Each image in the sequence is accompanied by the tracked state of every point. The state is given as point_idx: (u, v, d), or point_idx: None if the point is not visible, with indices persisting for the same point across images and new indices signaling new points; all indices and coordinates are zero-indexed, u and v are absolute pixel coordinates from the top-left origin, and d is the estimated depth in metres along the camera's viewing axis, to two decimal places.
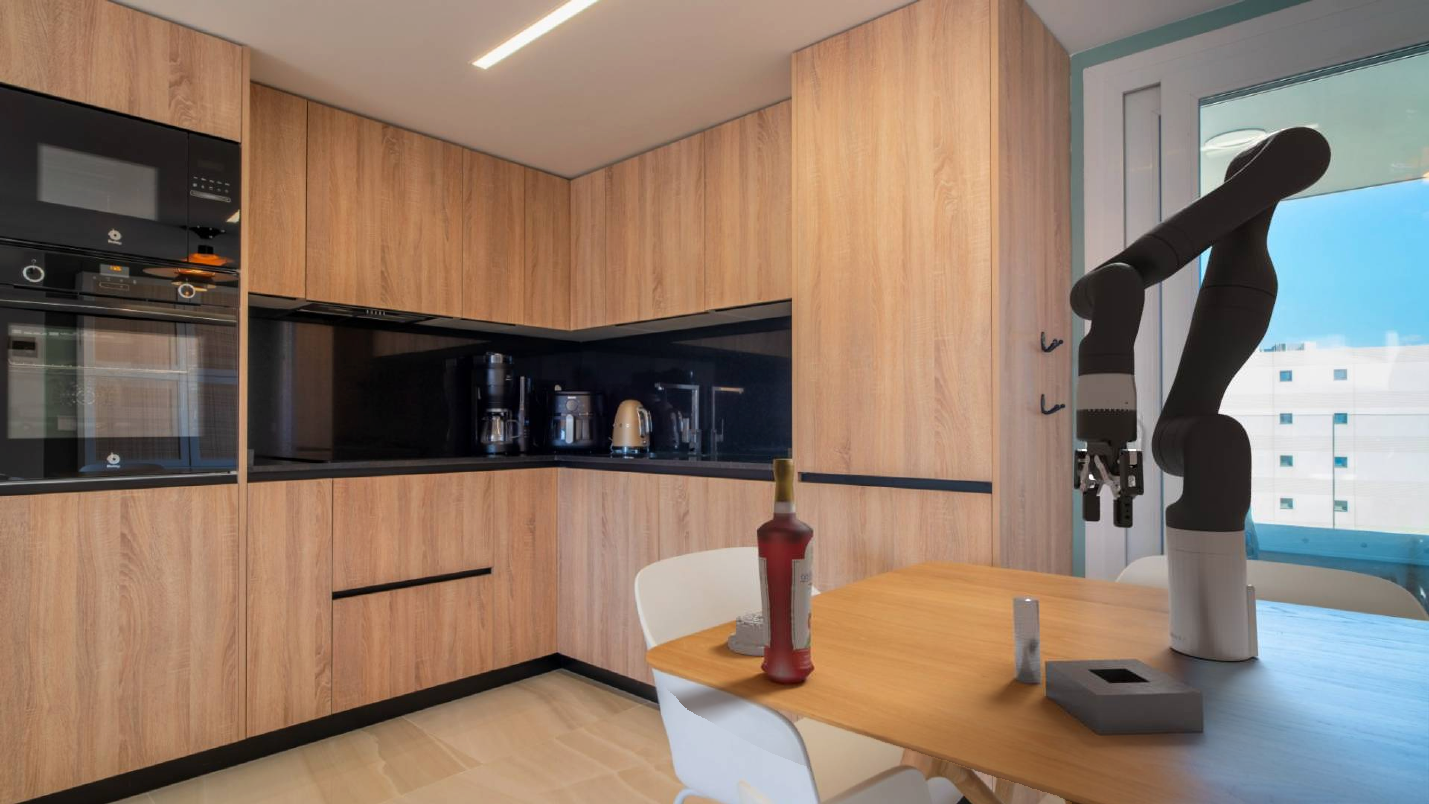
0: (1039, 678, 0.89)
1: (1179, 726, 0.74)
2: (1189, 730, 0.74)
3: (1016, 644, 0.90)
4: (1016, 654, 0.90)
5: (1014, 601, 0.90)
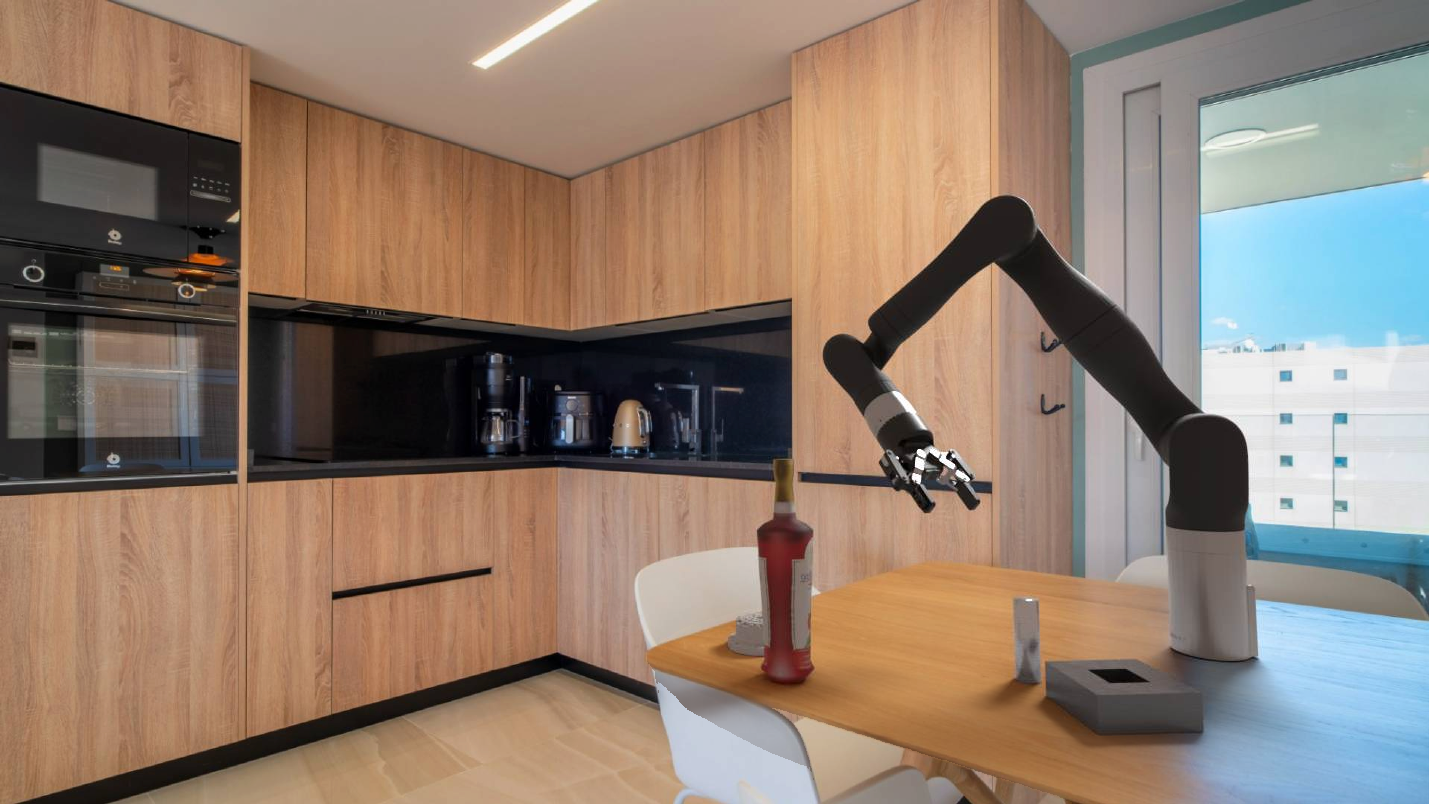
0: (1039, 678, 0.89)
1: (1179, 726, 0.74)
2: (1189, 730, 0.74)
3: (1016, 644, 0.90)
4: (1016, 654, 0.90)
5: (1014, 601, 0.90)
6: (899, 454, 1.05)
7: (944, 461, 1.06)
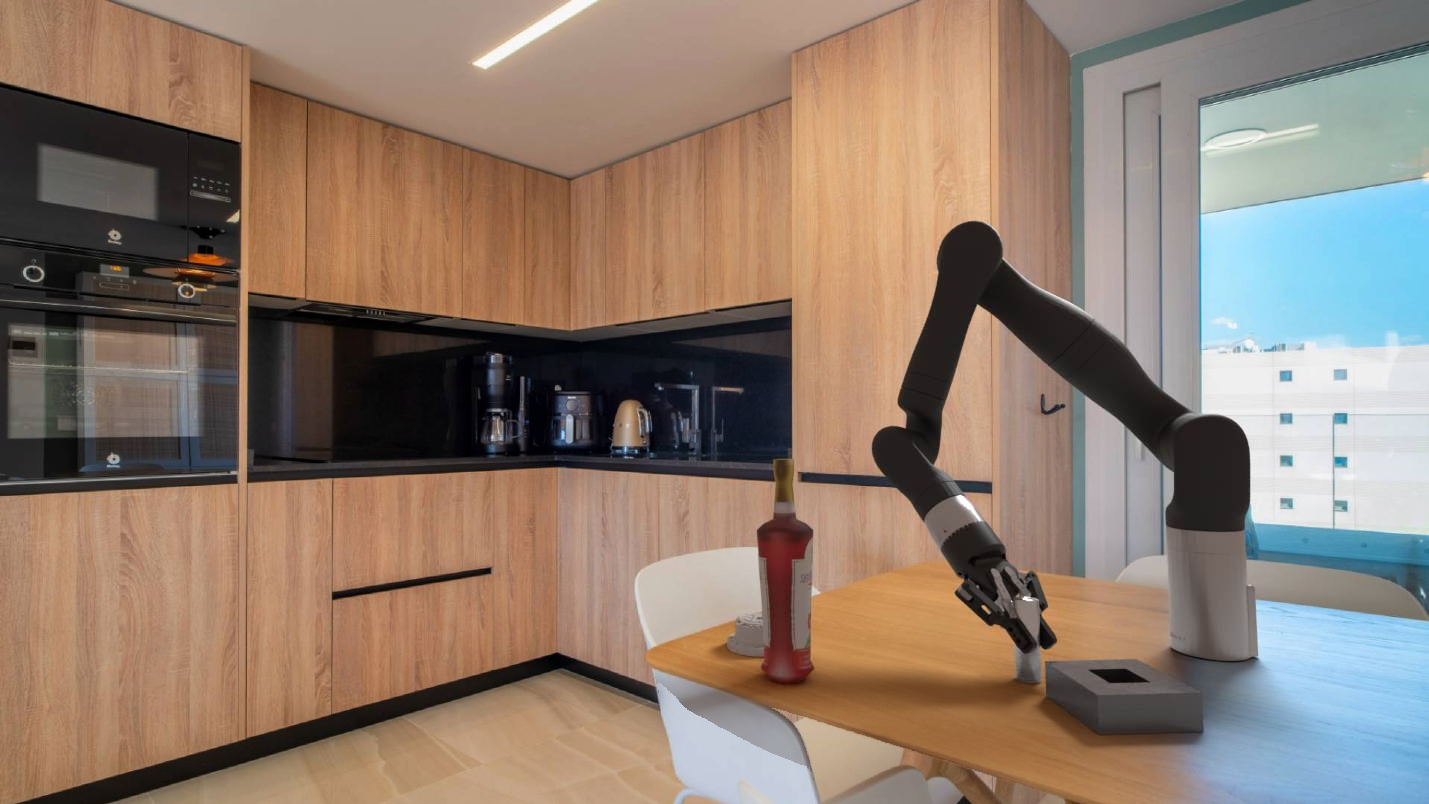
0: (1039, 678, 0.89)
1: (1179, 726, 0.74)
2: (1189, 730, 0.74)
3: None
4: (1016, 654, 0.90)
5: (1014, 601, 0.90)
6: (972, 577, 0.93)
7: (1017, 583, 0.93)
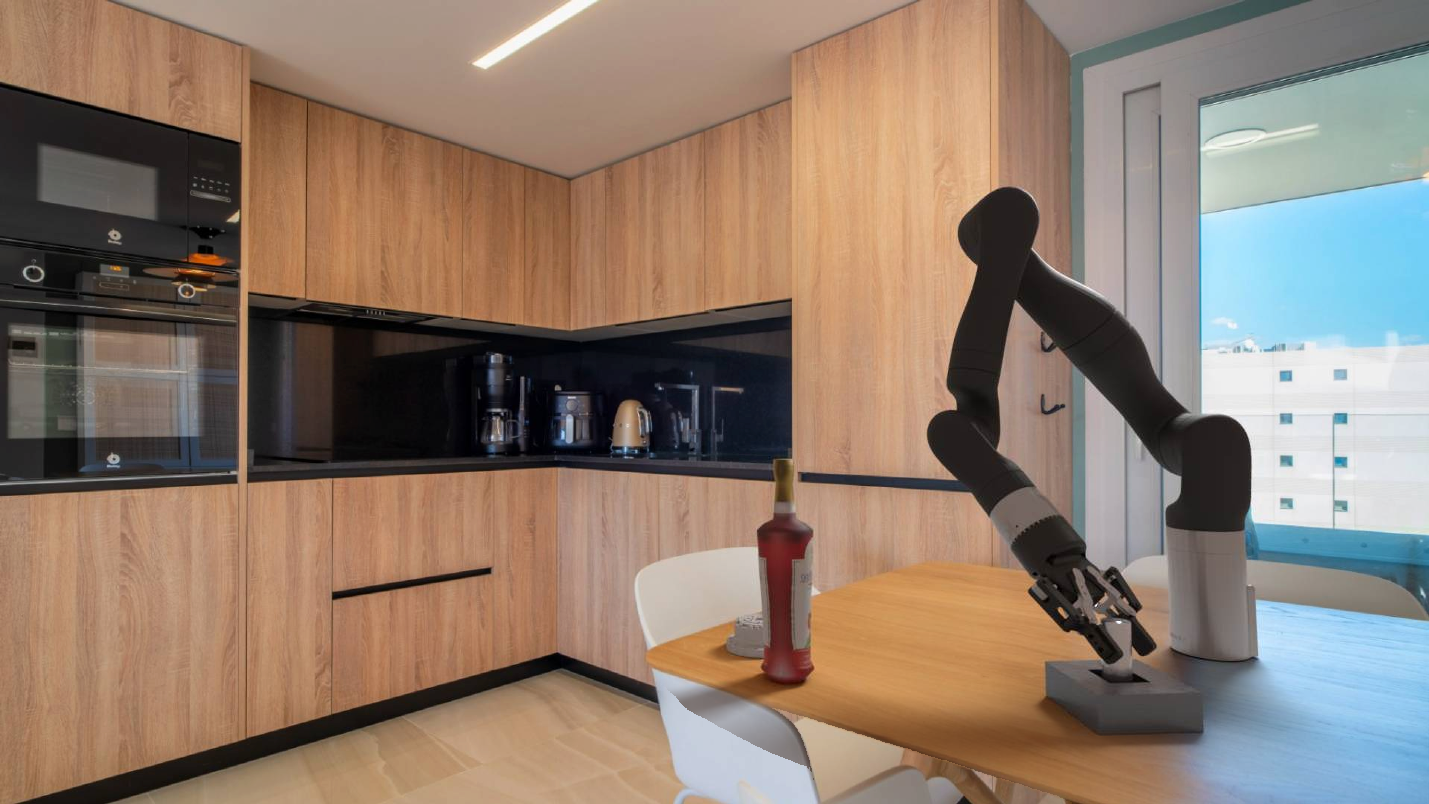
0: None
1: (1179, 726, 0.74)
2: (1189, 730, 0.74)
3: (1105, 672, 0.79)
4: None
5: (1102, 623, 0.79)
6: (1051, 577, 0.82)
7: (1104, 584, 0.83)
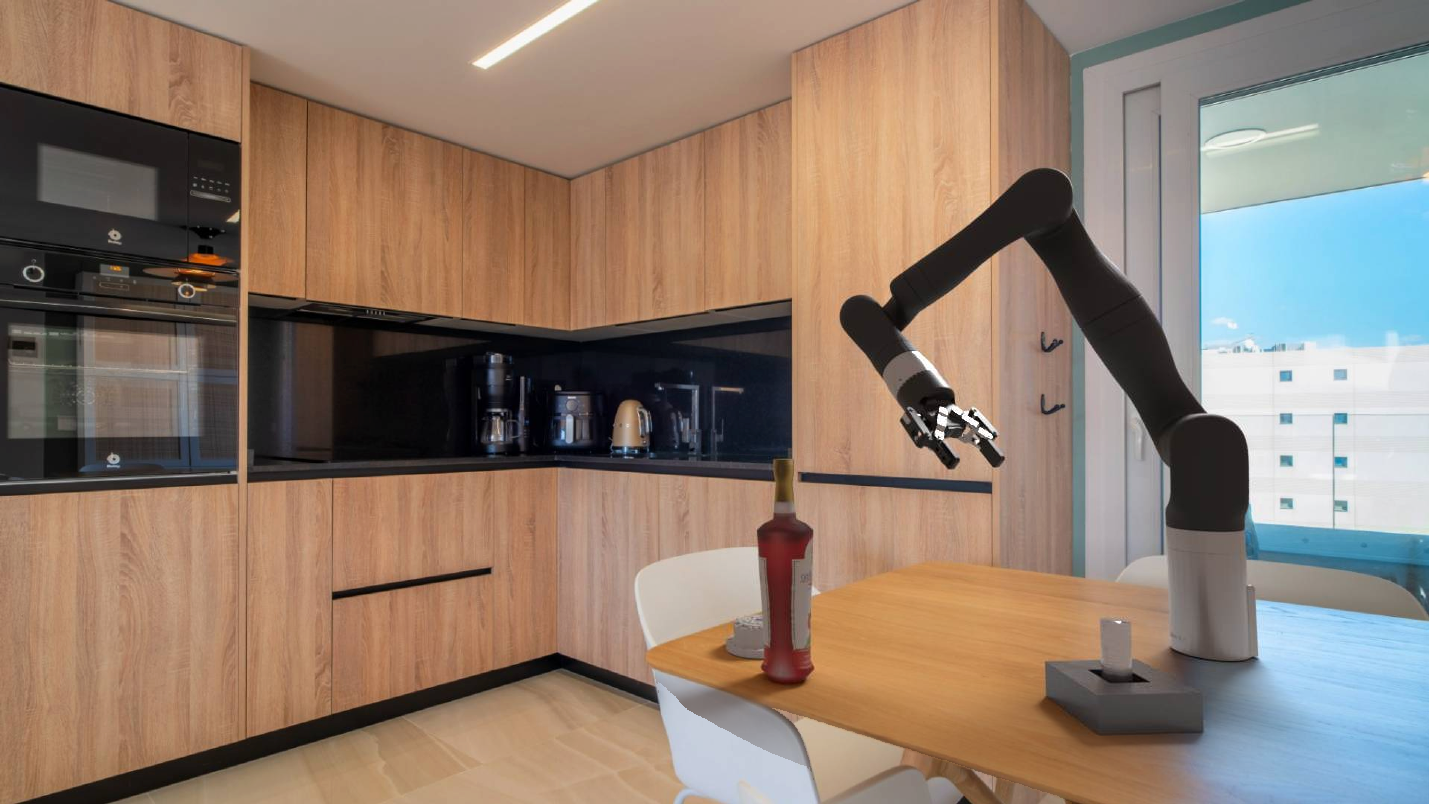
0: None
1: (1179, 726, 0.74)
2: (1189, 730, 0.74)
3: (1104, 672, 0.79)
4: None
5: (1102, 623, 0.80)
6: (920, 412, 1.03)
7: (966, 418, 1.04)
